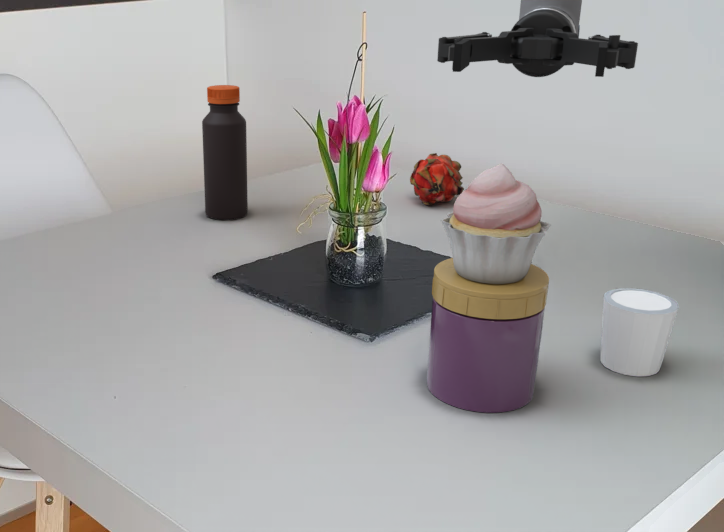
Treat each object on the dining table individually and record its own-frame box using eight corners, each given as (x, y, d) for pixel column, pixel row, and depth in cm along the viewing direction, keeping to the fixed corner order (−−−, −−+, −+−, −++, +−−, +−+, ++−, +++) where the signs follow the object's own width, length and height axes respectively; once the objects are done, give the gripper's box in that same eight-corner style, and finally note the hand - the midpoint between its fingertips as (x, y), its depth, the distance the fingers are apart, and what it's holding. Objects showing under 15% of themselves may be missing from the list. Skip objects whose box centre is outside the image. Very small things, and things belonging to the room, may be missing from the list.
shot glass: (670, 358, 86) (683, 294, 83) (661, 385, 80) (674, 318, 77) (600, 343, 89) (610, 282, 86) (587, 369, 83) (597, 304, 81)
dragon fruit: (440, 199, 147) (436, 229, 137) (402, 171, 146) (396, 199, 136) (472, 164, 143) (471, 192, 133) (433, 134, 142) (429, 160, 132)
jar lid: (549, 285, 79) (552, 261, 78) (541, 326, 71) (545, 300, 70) (442, 273, 83) (444, 250, 82) (422, 310, 74) (424, 285, 73)
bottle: (196, 215, 133) (191, 87, 126) (224, 206, 138) (220, 82, 131) (229, 223, 130) (225, 91, 122) (256, 213, 135) (254, 86, 127)
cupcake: (560, 270, 76) (575, 161, 72) (516, 300, 70) (530, 182, 66) (467, 249, 82) (476, 147, 78) (418, 275, 75) (425, 165, 71)
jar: (537, 372, 83) (551, 267, 79) (528, 421, 74) (543, 306, 70) (436, 357, 86) (444, 255, 82) (417, 401, 77) (424, 291, 73)
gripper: (649, 77, 98) (659, 104, 79) (436, 70, 106) (400, 93, 87) (660, 9, 95) (672, 21, 77) (440, 7, 103) (403, 17, 85)
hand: (527, 60), depth 82 cm, fingers open, 13 cm apart
